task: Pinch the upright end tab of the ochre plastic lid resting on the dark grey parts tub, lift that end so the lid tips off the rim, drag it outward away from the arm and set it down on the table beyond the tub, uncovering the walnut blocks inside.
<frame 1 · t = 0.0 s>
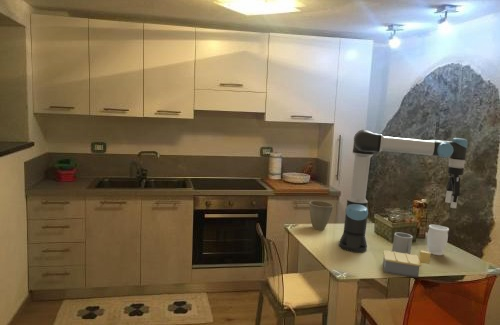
hand: (450, 205, 228), 28 cm above the table, fingers open, 13 cm apart
tub: (399, 270, 202), on the table
lid: (401, 258, 201), point 6 cm above the table, touching tub
plant pot: (318, 228, 262), on the table
cup: (400, 257, 222), on the table
jar: (435, 253, 233), on the table
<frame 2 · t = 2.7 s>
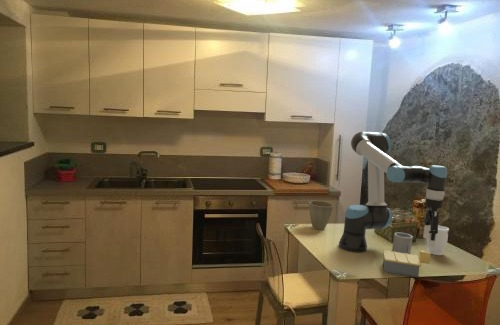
hand: (428, 242, 197), 16 cm above the table, fingers open, 13 cm apart
nothing on the table moved.
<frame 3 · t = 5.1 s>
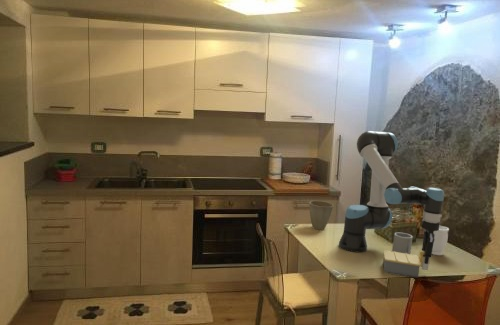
hand: (424, 268, 199), 3 cm above the table, fingers closed on lid, 3 cm apart
lid: (401, 258, 201), point 6 cm above the table, touching gripper
everything else where it was.
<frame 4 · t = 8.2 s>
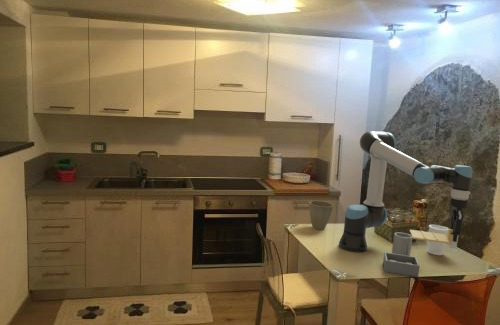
hand: (452, 246, 198), 15 cm above the table, fingers closed on lid, 3 cm apart
lid: (428, 237, 200), point 18 cm above the table, touching gripper
everything else where it was.
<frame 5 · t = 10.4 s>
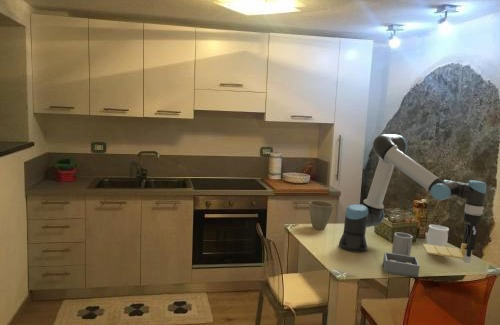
hand: (465, 261, 199), 8 cm above the table, fingers closed on lid, 3 cm apart
lid: (442, 251, 201), point 11 cm above the table, touching gripper
everything else where it was.
when the fingers open (3 cm above the table, at t = 11.8 s): lid drops 6 cm, on the table.
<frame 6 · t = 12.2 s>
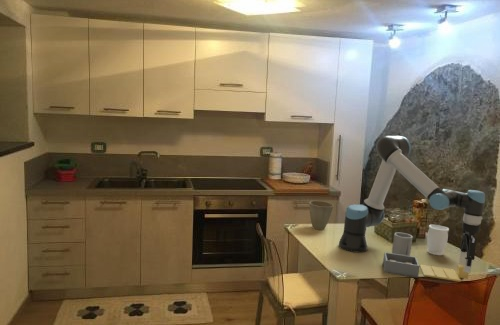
hand: (464, 268, 200), 4 cm above the table, fingers open, 9 cm apart
lid: (439, 273, 203), on the table
everything else where it was.
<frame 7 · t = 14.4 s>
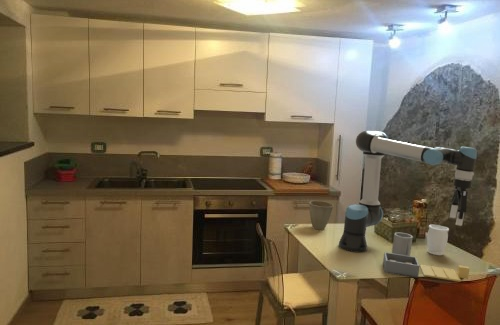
hand: (455, 221, 204), 25 cm above the table, fingers open, 13 cm apart
nothing on the table moved.
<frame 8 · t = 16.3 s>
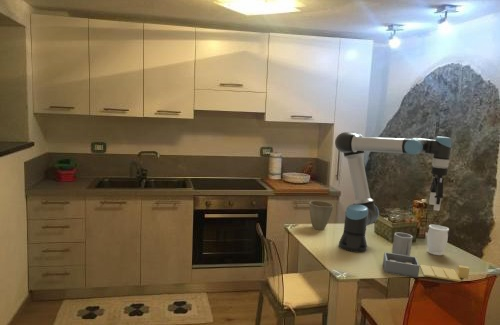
hand: (433, 207, 216), 29 cm above the table, fingers open, 13 cm apart
nothing on the table moved.
at the end: lid touching table; lid inside the target area (6.6 cm from its centre), on the table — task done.
